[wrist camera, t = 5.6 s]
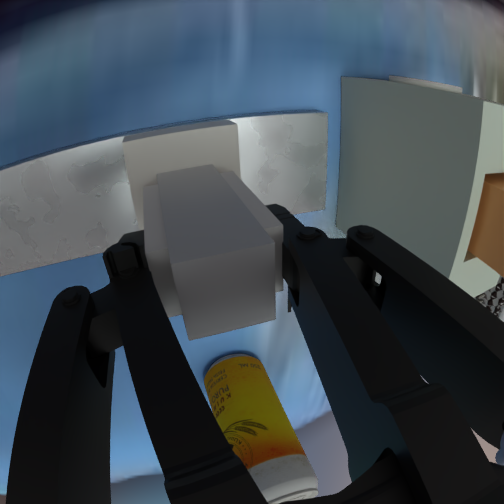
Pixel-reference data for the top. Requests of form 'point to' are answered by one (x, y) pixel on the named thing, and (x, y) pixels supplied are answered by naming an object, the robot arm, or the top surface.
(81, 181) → the rail
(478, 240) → the button
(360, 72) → the top surface
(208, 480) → the robot arm
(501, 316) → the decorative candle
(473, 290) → the white block
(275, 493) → the beer can
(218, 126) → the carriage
